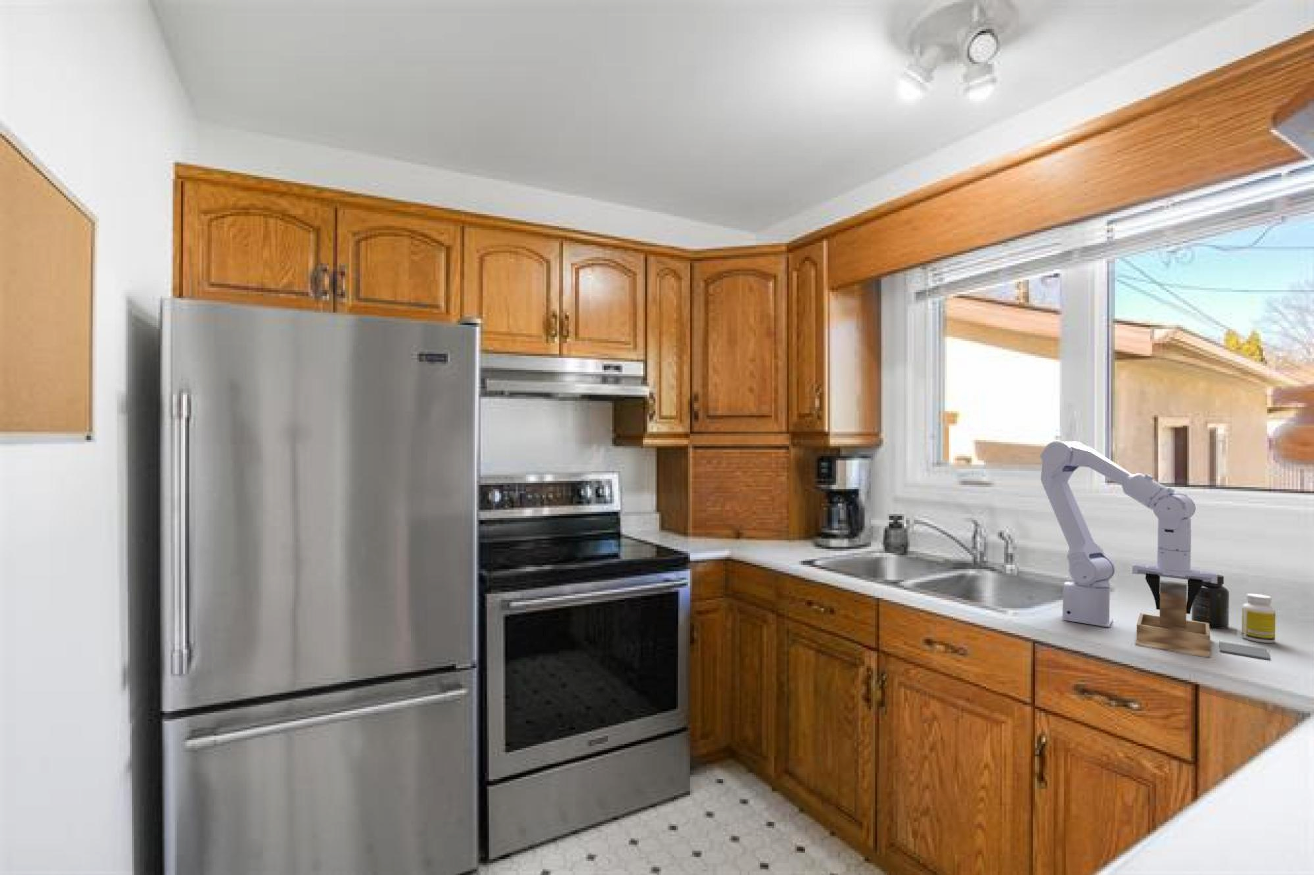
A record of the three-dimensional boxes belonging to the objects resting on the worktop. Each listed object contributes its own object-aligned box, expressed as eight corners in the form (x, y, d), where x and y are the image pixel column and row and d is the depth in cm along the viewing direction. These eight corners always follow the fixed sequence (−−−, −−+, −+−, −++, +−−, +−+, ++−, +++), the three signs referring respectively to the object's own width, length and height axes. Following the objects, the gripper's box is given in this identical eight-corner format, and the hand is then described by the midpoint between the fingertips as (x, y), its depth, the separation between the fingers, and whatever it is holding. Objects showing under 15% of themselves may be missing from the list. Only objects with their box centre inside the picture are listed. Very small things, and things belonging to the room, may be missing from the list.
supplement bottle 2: (1281, 644, 139) (1282, 599, 139) (1252, 642, 140) (1253, 597, 140) (1263, 636, 145) (1264, 593, 145) (1235, 635, 146) (1236, 591, 146)
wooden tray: (1135, 644, 138) (1135, 628, 138) (1141, 624, 153) (1141, 609, 153) (1210, 657, 130) (1210, 640, 130) (1208, 634, 146) (1208, 619, 146)
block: (1159, 624, 141) (1160, 583, 141) (1160, 619, 145) (1160, 580, 145) (1186, 628, 139) (1186, 586, 139) (1186, 623, 142) (1186, 583, 142)
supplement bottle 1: (1236, 629, 150) (1237, 578, 150) (1203, 628, 151) (1204, 577, 151) (1215, 621, 157) (1216, 572, 157) (1184, 619, 158) (1185, 571, 158)
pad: (1220, 651, 134) (1220, 649, 134) (1219, 643, 140) (1219, 641, 140) (1269, 660, 129) (1269, 658, 129) (1266, 650, 135) (1266, 648, 135)
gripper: (1131, 547, 143) (1130, 608, 143) (1218, 555, 134) (1217, 621, 134) (1133, 543, 149) (1133, 602, 149) (1217, 551, 139) (1216, 614, 139)
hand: (1173, 610), depth 142 cm, fingers closed on block, 4 cm apart
